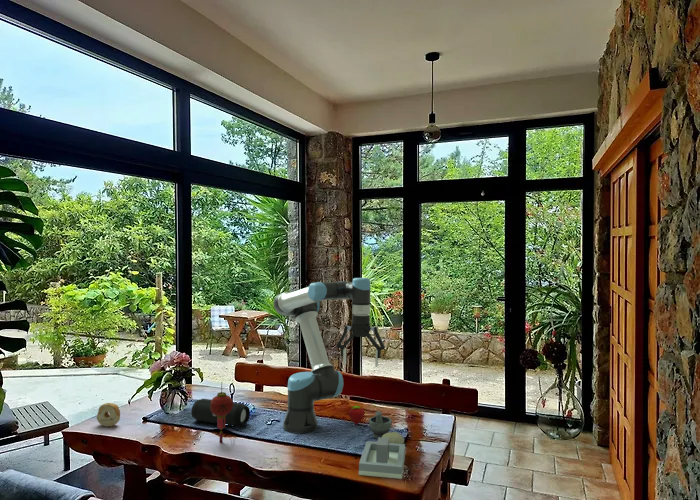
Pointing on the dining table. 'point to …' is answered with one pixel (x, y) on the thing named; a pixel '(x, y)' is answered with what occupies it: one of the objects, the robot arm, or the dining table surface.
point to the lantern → (221, 409)
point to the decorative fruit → (356, 414)
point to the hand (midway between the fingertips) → (360, 365)
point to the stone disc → (104, 416)
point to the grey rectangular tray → (389, 469)
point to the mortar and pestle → (379, 424)
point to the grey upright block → (382, 450)
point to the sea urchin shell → (394, 437)
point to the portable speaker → (203, 413)
